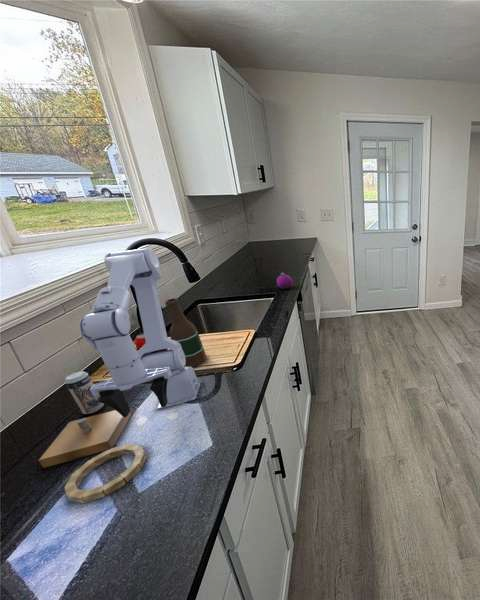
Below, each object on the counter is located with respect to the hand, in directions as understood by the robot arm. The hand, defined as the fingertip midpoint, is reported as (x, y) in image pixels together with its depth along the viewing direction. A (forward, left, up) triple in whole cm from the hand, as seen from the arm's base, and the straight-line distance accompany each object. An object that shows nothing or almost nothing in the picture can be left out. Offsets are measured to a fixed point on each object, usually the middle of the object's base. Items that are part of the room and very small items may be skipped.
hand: (146, 409), depth 75 cm
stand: (+17, -8, -9) cm, 21 cm away
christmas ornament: (-35, -100, -4) cm, 106 cm away
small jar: (+22, -22, -10) cm, 33 cm away
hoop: (+8, +7, -9) cm, 14 cm away
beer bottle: (-1, -37, -10) cm, 38 cm away
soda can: (+11, -42, -10) cm, 44 cm away
